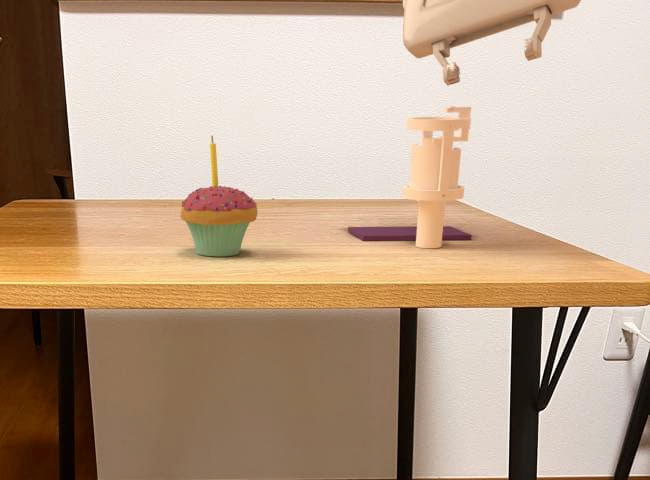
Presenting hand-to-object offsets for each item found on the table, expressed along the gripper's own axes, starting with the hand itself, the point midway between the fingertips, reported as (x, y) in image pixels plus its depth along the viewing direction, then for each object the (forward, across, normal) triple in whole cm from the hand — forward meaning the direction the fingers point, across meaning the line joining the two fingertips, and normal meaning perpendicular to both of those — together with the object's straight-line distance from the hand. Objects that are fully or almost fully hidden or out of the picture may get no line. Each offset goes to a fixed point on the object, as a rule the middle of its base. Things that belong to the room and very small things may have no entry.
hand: (491, 70), depth 101 cm
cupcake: (+20, -26, -20) cm, 38 cm away
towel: (+15, -13, +5) cm, 20 cm away
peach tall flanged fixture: (+19, -8, -1) cm, 21 cm away
